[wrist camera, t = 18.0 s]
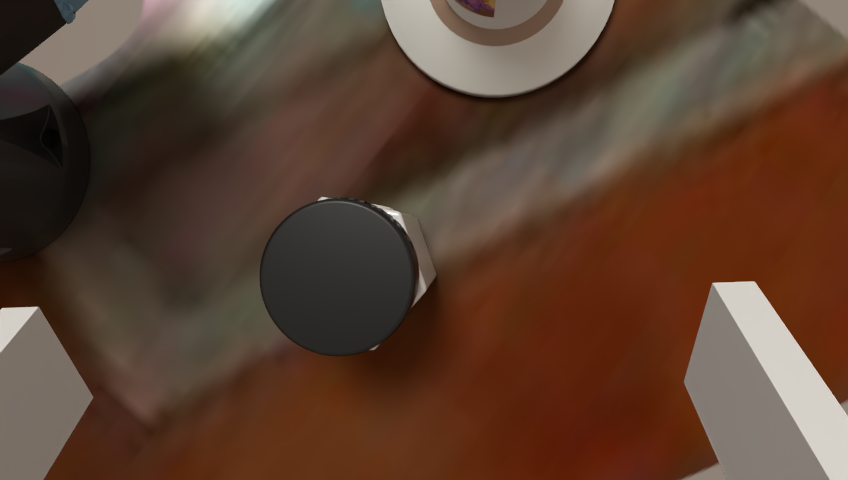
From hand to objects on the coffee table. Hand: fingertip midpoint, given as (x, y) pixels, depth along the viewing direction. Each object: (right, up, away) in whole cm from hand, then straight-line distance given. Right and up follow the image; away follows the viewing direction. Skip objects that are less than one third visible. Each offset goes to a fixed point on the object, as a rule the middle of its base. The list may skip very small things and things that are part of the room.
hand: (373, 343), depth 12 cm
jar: (-2, 0, +30) cm, 30 cm away
